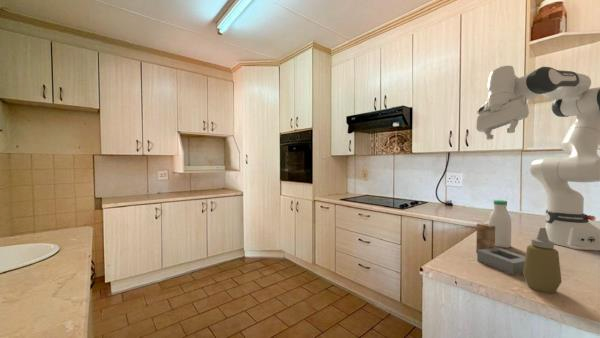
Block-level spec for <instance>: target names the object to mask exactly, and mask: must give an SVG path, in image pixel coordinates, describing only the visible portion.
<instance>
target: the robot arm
mask: <svg viewBox="0 0 600 338" xmlns="http://www.w3.org/2000/svg"><path fill="white" fill-rule="evenodd" d="M515 73H516V72H515V67H514V66H512V65H503V66H500V67H497V68H495V69H494V70H493V71H491V72H490V74H489V77H488V80H487V81H488V82H487V92H488V95H487V100H486V102H485V103H484V104H483V105H481V107H480V108H478V109H477V111H476V113H477V115H478V116H477V118H476V130H477V132H479V133H484V134H485V135H486V140H488V141H489V140H493V139H494V134H492V132H493V130H495V129H498V128H502V127H504V126H507V125H509V127H508V128H506V130H507V131H506V132H507V134H513V133H515V132H516V128H517V126H518V124H519V121H523V120H524V119H527V118H528V117H529V114H530V109H529V105H528V102H527V100H530V99H533V98H535V97H538V96H541V95H542V96H543V97H544V98H545V99H548V100H553V101H552V104H551V111H552V113H553V114H554V115H555V116H556V117H561V118H568V117H574V116H576V119H575V120H574V121H573V123H572V124H571V125H570V126H569V128H568V129H567V131H566V134H565V135H564V137H563V140H562V141H561V143H560V147H561V149H562V151H564V152H565V153H567V154H569V155H568V156H562V157H561V156H557V157H556V156H548V157H541V158H536V159H534V160H533V161H532V162H531V163H530V166H529V172H530V174H531V176H532V177H533V178H535V179H536V180H537V181H539V182H540V183H541V184H542V187H543V188H544V190H545V193H546V202H547V204H546V207H547V208H546V210H545V227H544V228H546V232H547V235H548V239H549V240H550V241H553V242H554V245H556V246H557V245H558V246H563V247H567V248H570V249H573V250H581V251H582V250H584V251H585V250H586V251H600V228H599V227H596V226H595V225H593V224H592V223H591V222H590V221H593V222H595V221H596V216H594V215H591V214H590V215H589V214H585V213H584V204H585V203H584V202H585V201H584V200H585V199H584V195H582V193H580V192H579V191H576V190H574V189H573V188H572V187H571V186H570V185H569V183H568V182H571V183H597V182H600V156H599V155H598V152H597V151H598V149H599V148H598V147H599V145H600V87H593V88H591V86H592V79H591V77H590V76H589V75H586V74H584V73H577V72H575V71H571V70H558V69H555V68H553V67H550V66H541V67H539V68H536V69H535V70H534V71H532V72H529V73H527V74H525V75H523V76H520V77H518V76H517V75H516V74H515Z"/></svg>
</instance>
